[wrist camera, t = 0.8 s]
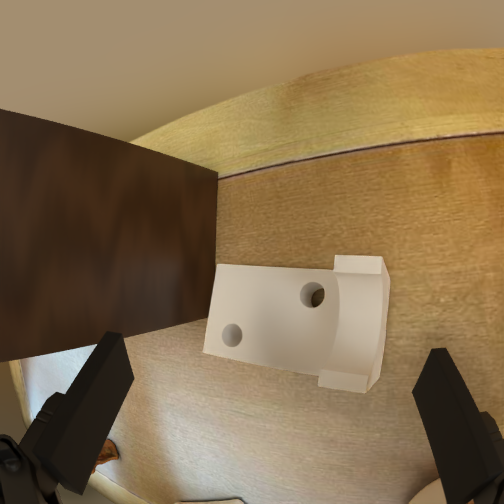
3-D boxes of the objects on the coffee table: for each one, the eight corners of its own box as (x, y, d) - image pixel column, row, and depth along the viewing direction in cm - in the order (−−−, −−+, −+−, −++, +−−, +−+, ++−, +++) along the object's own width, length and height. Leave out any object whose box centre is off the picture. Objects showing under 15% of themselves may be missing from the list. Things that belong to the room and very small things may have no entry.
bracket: (391, 282, 22) (382, 256, 16) (379, 377, 21) (365, 393, 14) (239, 273, 29) (185, 250, 22) (226, 352, 27) (168, 351, 21)
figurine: (127, 468, 37) (65, 497, 27) (104, 451, 40) (44, 475, 30) (123, 445, 37) (56, 474, 27) (100, 429, 40) (36, 452, 29)
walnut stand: (117, 188, 36) (-83, 160, 14) (218, 171, 29) (-76, 94, 7) (114, 296, 36) (-87, 314, 14) (214, 315, 29) (-87, 374, 7)
